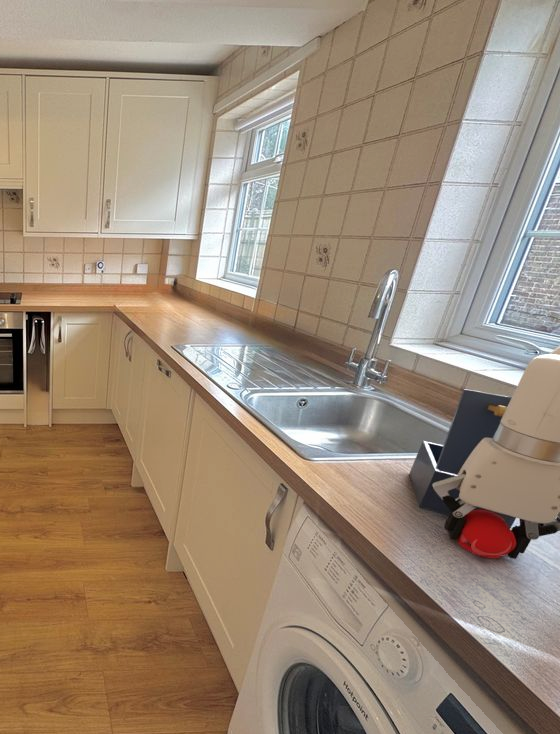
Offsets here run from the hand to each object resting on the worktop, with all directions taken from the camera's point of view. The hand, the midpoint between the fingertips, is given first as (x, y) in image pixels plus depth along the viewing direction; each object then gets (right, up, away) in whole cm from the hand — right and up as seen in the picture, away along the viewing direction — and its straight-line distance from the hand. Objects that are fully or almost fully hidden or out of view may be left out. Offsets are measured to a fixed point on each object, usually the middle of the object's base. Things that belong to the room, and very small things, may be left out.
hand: (479, 542), depth 64 cm
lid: (+5, +16, +3) cm, 17 cm away
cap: (0, -1, 0) cm, 1 cm away
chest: (+8, +3, +12) cm, 15 cm away
